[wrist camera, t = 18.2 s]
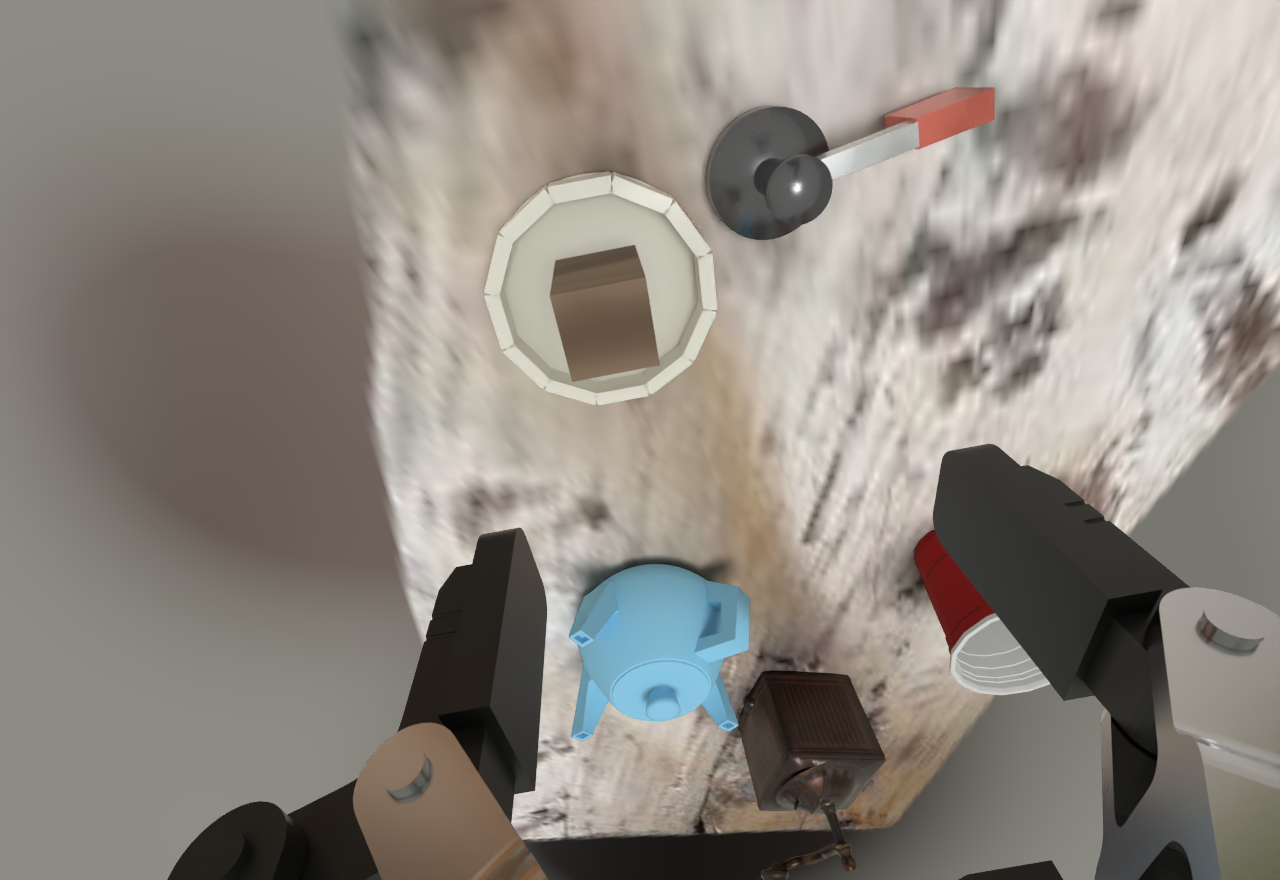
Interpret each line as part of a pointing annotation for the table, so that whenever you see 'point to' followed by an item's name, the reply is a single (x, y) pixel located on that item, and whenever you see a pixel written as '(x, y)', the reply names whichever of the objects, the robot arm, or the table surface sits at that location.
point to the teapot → (657, 646)
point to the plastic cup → (973, 628)
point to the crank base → (768, 173)
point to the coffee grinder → (808, 752)
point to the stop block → (603, 313)
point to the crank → (914, 129)
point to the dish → (587, 223)
